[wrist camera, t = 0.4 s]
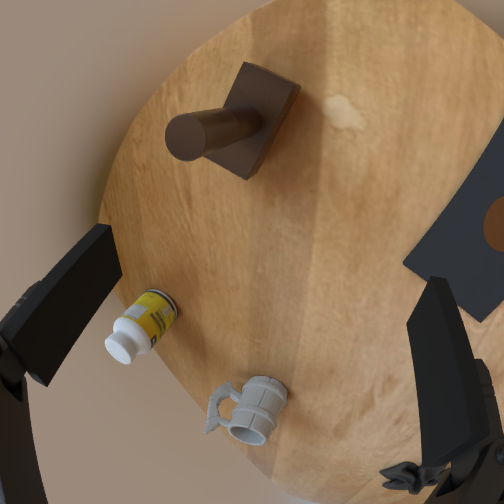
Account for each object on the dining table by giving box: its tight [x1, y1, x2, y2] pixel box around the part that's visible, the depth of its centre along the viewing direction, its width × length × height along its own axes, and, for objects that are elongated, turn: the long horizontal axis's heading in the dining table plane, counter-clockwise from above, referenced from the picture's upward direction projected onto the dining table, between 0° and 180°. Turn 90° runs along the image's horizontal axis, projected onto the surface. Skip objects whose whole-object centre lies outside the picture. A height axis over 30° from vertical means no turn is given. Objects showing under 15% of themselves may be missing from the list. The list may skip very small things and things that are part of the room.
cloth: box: [379, 462, 449, 495], centre depth 47 cm, size 22×19×6 cm
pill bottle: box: [105, 290, 177, 364], centre depth 43 cm, size 6×6×12 cm
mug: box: [203, 376, 288, 446], centre depth 44 cm, size 8×12×12 cm, turn 86°
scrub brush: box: [165, 62, 301, 181], centre depth 23 cm, size 10×5×14 cm, turn 154°
